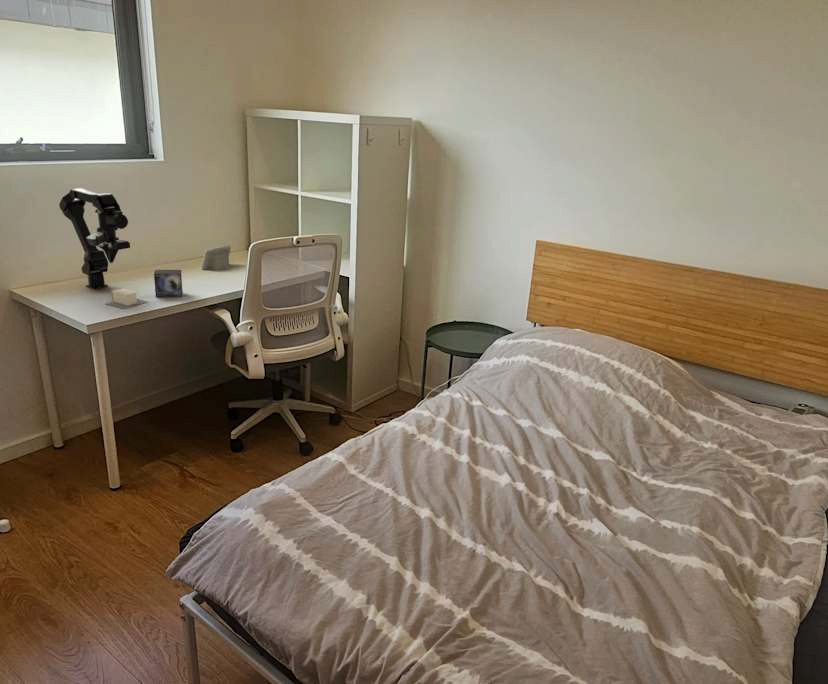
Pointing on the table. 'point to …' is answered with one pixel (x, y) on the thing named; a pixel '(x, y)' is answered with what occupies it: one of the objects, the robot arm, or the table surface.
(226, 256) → the digital clock
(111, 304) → the grey rubber mat
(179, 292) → the small box
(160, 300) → the table surface
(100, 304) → the table surface
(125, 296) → the cream block
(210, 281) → the table surface
